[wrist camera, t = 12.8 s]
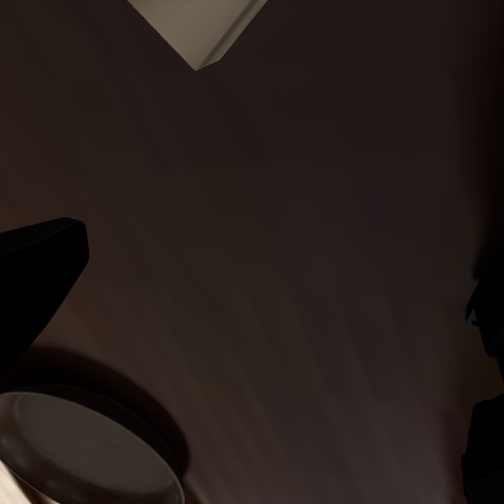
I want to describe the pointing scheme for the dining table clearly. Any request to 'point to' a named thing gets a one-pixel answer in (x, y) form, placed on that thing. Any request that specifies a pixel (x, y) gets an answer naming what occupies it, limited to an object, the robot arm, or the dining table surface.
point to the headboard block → (199, 25)
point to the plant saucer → (85, 448)
